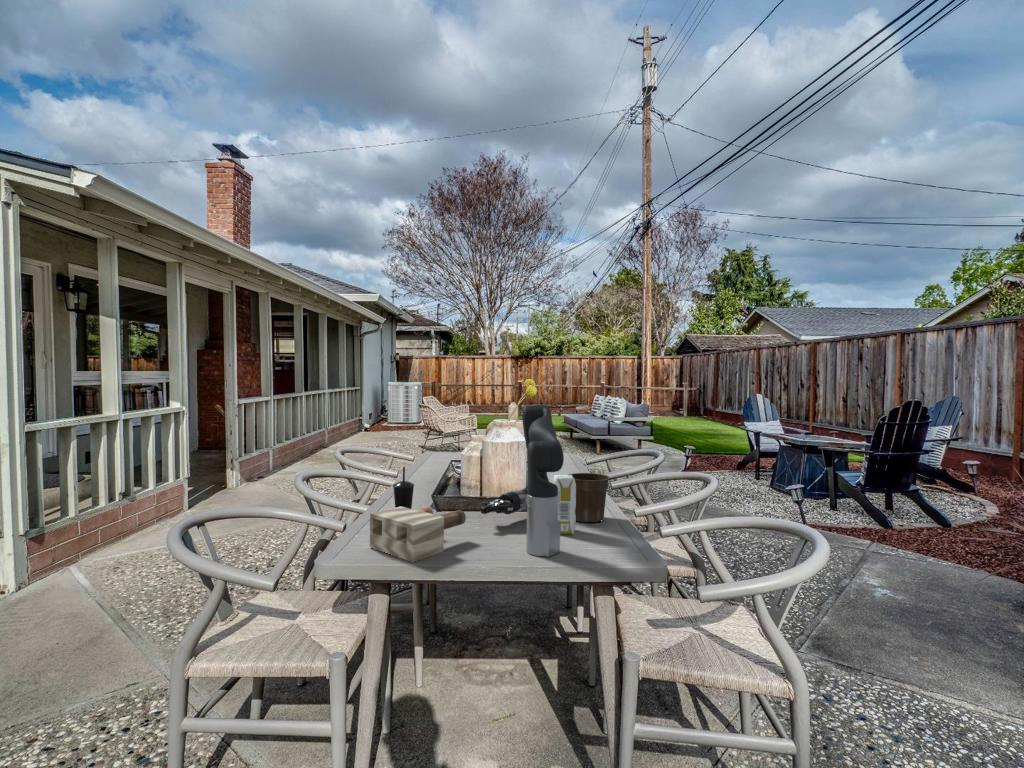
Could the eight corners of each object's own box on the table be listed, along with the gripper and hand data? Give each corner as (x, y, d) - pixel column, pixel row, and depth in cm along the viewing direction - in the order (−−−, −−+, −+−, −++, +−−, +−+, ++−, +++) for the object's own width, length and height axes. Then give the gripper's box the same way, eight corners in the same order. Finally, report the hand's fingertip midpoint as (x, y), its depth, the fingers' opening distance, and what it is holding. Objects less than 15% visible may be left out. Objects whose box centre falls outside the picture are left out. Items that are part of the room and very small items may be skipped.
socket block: (443, 551, 153) (444, 516, 153) (412, 562, 144) (413, 525, 144) (400, 538, 165) (401, 506, 165) (369, 548, 156) (370, 513, 156)
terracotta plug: (433, 521, 169) (433, 507, 168) (393, 533, 155) (393, 517, 155) (423, 519, 171) (423, 505, 171) (383, 530, 158) (383, 515, 158)
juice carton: (553, 535, 171) (554, 478, 171) (551, 528, 180) (552, 473, 180) (576, 535, 171) (577, 478, 171) (572, 528, 180) (573, 474, 180)
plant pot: (563, 513, 201) (564, 472, 201) (604, 513, 201) (605, 472, 201) (567, 524, 185) (568, 479, 185) (612, 525, 185) (613, 480, 184)
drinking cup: (418, 521, 185) (419, 466, 185) (403, 526, 179) (404, 469, 179) (402, 518, 189) (403, 464, 189) (387, 523, 183) (388, 467, 183)
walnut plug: (465, 525, 165) (465, 511, 165) (427, 537, 152) (427, 521, 152) (455, 522, 168) (455, 508, 168) (417, 534, 155) (417, 519, 154)
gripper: (499, 489, 192) (468, 496, 179) (528, 494, 184) (497, 502, 171) (499, 509, 193) (467, 518, 179) (527, 515, 184) (497, 525, 171)
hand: (482, 510), depth 175 cm, fingers closed
